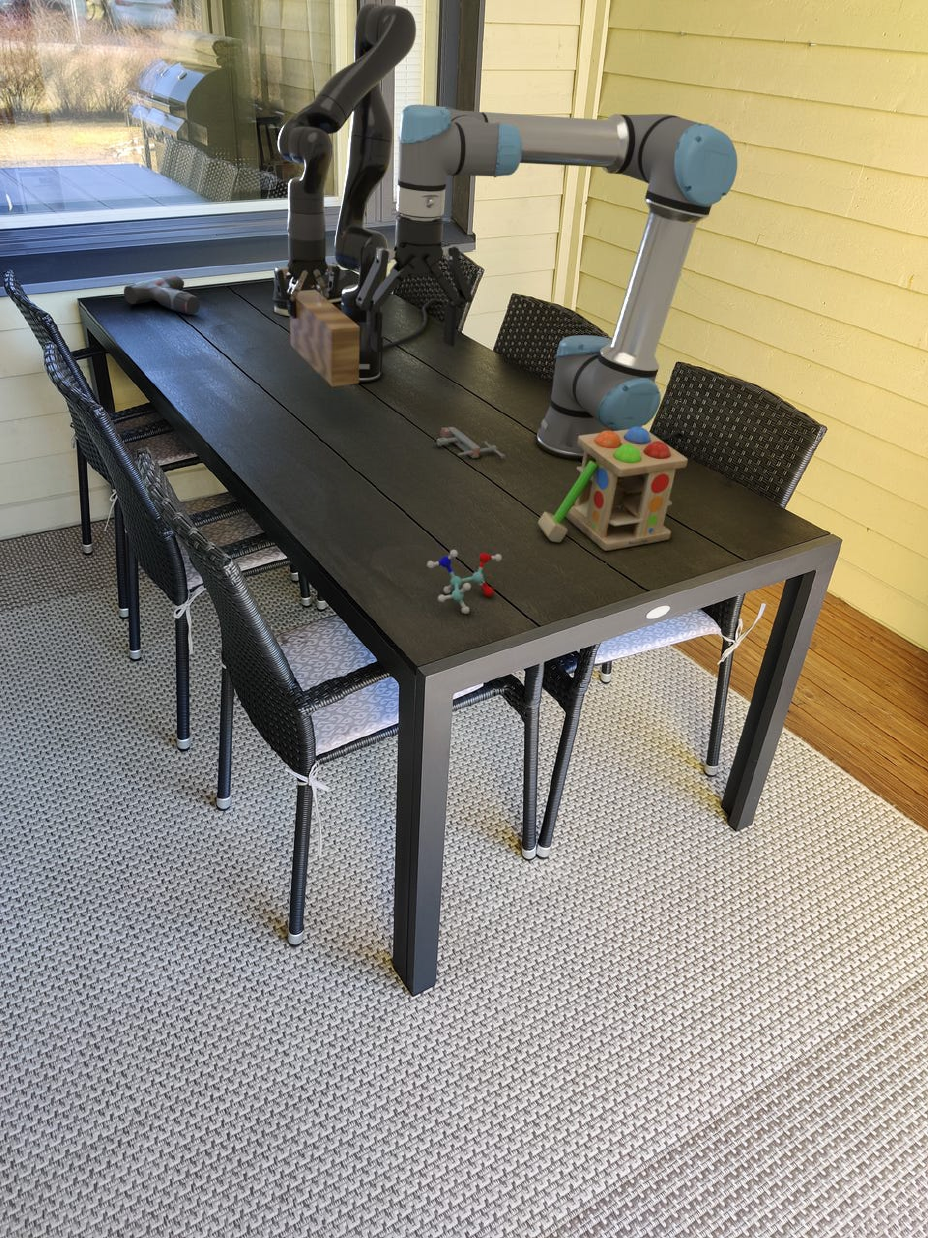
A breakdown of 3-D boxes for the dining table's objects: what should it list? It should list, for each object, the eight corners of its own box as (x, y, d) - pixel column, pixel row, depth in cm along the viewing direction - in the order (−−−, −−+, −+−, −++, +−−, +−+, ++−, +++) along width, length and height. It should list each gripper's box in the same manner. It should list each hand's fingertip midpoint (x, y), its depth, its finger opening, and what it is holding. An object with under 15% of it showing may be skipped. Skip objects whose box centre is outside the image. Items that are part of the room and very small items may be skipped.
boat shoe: (367, 296, 285) (368, 259, 280) (292, 317, 262) (291, 278, 256) (333, 288, 291) (332, 251, 286) (256, 308, 267) (254, 269, 262)
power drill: (228, 285, 263) (174, 269, 271) (176, 299, 250) (121, 282, 258) (229, 305, 266) (176, 289, 274) (178, 320, 253) (123, 303, 261)
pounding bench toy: (563, 559, 168) (578, 464, 158) (523, 521, 178) (535, 429, 168) (671, 539, 177) (692, 448, 167) (627, 503, 188) (644, 416, 178)
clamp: (428, 429, 204) (470, 423, 208) (427, 439, 205) (469, 432, 209) (464, 459, 193) (507, 451, 198) (463, 469, 194) (506, 461, 199)
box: (290, 345, 213) (289, 291, 207) (316, 342, 216) (315, 289, 209) (331, 386, 196) (331, 329, 189) (358, 383, 199) (359, 326, 192)
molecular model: (493, 609, 147) (472, 545, 146) (437, 624, 151) (416, 563, 149) (514, 592, 158) (494, 533, 156) (461, 607, 161) (442, 549, 160)
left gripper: (278, 240, 193) (281, 324, 202) (346, 236, 199) (346, 319, 208) (266, 230, 198) (269, 313, 208) (333, 227, 204) (333, 307, 214)
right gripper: (355, 223, 147) (352, 360, 159) (500, 219, 158) (487, 348, 170) (337, 211, 153) (335, 344, 165) (478, 208, 163) (467, 334, 175)
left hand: (308, 315), depth 208 cm, fingers closed on box, 6 cm apart
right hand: (412, 346), depth 167 cm, fingers open, 13 cm apart
